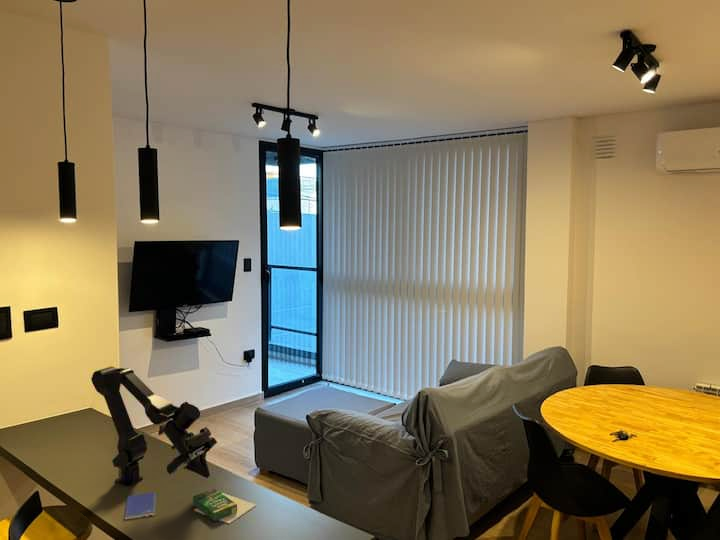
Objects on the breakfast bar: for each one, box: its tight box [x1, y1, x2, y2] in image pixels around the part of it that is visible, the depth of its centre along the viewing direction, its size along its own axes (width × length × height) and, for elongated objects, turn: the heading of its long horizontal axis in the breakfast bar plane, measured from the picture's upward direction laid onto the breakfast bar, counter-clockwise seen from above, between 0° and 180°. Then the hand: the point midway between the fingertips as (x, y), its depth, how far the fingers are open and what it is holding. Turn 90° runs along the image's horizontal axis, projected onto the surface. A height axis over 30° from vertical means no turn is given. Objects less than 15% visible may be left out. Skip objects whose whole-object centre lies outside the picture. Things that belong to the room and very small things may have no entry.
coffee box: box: [192, 488, 237, 522], centre depth 168 cm, size 8×3×13 cm
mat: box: [193, 492, 257, 525], centre depth 169 cm, size 14×12×1 cm
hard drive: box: [124, 492, 156, 520], centre depth 169 cm, size 2×8×12 cm
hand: (208, 476), depth 173 cm, fingers closed
